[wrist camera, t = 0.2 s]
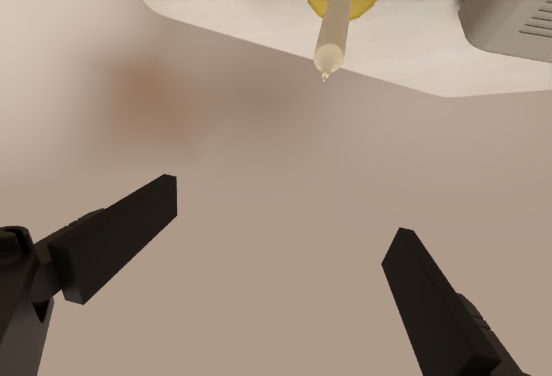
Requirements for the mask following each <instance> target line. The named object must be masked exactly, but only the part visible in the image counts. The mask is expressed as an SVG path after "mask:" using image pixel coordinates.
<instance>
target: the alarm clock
mask: <svg viewBox="0 0 552 376" xmlns="http://www.w3.org/2000/svg"><path fill="white" fill-rule="evenodd" d="M458 15H459V19H460V22H461V25H462V28H463V31H464V34H465V37H466V39H467V40H468V42H469V43H470V44H472V45H473V46H474V47H476V48H478V49H481V50H483V51H487V52H491V53H497V54H503V55H508V56H514V57H520V58H525V59H531V60H537V61H543V62H548V63H552V0H465V1H464V3H463V4H462V6H461V7H460V9H459V10H458Z"/></svg>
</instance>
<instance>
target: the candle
mask: <svg viewBox="0 0 552 376" xmlns="http://www.w3.org/2000/svg"><path fill="white" fill-rule="evenodd" d="M375 2H376V0H308V3H309V4H310V6H311V7H312V9H313V10H314V11H315V13H316V14H317V15H318V16H320V17H322V18H323V21H322V25H321V29H320V33H319V37H318V41H317V45H316V49H315V53H314V63H315V66H316V67H317V68H318V70H320V71H321V72H322V77H323V78H324V79H323V82H324V81H325V79H326V78H328V76H329V74H330V73H331V72H334V71H336V70H337V69H339V68H340V66H341V65H342V63H343V60H344V54H345V46H346V39H347V32H348V25H349V21H351V20H353V19H356V18H359V17H360V16H361V15H363V14H364V13H365V12H366V11H367V10H368V9H370V8H371V7H372V6H373V5H374V3H375Z"/></svg>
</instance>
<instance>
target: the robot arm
mask: <svg viewBox="0 0 552 376" xmlns="http://www.w3.org/2000/svg"><path fill="white" fill-rule="evenodd" d="M176 216H177V183H176V177H175V176H171V175H166V174H163V175H162V176H160V177H158V178H157V179H155V180H153V181H152V182H150V183H148V184H147V185H145V186H143V187H142V188H140V189H138V190H136V191H135V192H133V193H132V194H130V195H128V196H127V197H125V198H123V199H121V200H120V201H118V202H116V203H115V204H113V205H111V206H110V207H108V208H106V209H103V208H102V209H99V210H96V211H93V212H90V213H88V214H86V215H84V216H82V217H81V218H79V219H78V220H77V221H74V222H72V223H70V224H69V225H68V226H65V227H63V228H61V229H59V230H58V231H56V232H55V233H52V234H51V235H49V236H47V237H46V238H44V239H42V240H40V241H39V242H37V243H35V244H33V241H32V238H31V236H30V233H29V231H28V229H26V228H24V227H21V226H6V227H1V228H0V376H37V372H38V369H39V365H40V360H41V356H42V352H43V348H44V343H45V339H46V335H47V331H48V327H49V322H50V318H51V314H52V310H53V306H54V298H53V296H54V295H55V294H56V293H58V292H59V291H60V290H61V289H62V292H63V295H64V298H65V300H67V301H71V302H75V303H78V304H82V305H84V304H85V303H86V302H87V301H88V300H89V299H90V298H91V297H92V296H93V295H94V294H95V293H97V291H98V290H100V289H101V288H102V287H103V286H104V285H105V284H106V283H107V282H108V281H109V280H110V279H111V278H112V277H113V276H114V275H115V274H116V273H118V272H119V270H121V269H122V268H123V267H124V266H125V265H126V264H127V263H128V262H129V261H130V260H131V259H132V258H133V257H134V256H135V255H136V254H137V253H138V252H139V251H141V250H142V249H143V248H144V247H145V246H146V245H147V244H148V243H149V242H150V241H151V240H152V239H153V238H154V237H155V236H156V235H157V234H158V233H159V232H160V231H162V230H163V229H164V228H165V227H166V226H167V225H168V224H169V223H170V222H171V221H172V220H173V219H174V218H175V217H176ZM381 265H382V267H383V270H384V273H385V275H386V278H387V281H388V283H389V286H390V289H391V291H392V294H393V297H394V299H395V302H396V305H397V307H398V310H399V313H400V315H401V318H402V321H403V323H404V326H405V329H406V331H407V334H408V337H409V339H410V342H411V344H412V347H413V350H414V353H415V355H416V358H417V361H418V363H419V366H420V369H421V371H422V374H423V376H530V375H529V374H525V373H523V372H522V371H521V369H520V368H519V367H518V365H517V364H516V363H515V361H514V360H513V359H512V357H511V356H510V354H509V353H508V352H507V350H506V349H505V347H504V346H503V345H502V343H501V342H500V341H499V339H498V338H497V336H496V335H495V334H494V332H493V331H491V328H490V327H489V325H488V324H487V323H486V321H485V320H483V317H482V316H481V314H480V313H479V312H478V311H477V309H476V307H475V306H474V305H473V304H472V303H471V302H469V300H468V299H466V298H465V297H464V296H463V295H462V294H459V293H456V292H455V291H454V289H453V288H452V286H451V285H450V283H449V282H448V280H447V279H446V277H445V276H444V275H443V273H442V271H441V270H440V269H439V267H438V266H437V264H436V263H435V261H434V260H433V258H432V257H431V255H430V254H429V252H428V251H427V250H426V249H425V247H424V245H423V244H422V242H421V241H420V239H419V238H418V237H417V235H416V233H415V232H414V231H413V230H409V229H404V228H399V229H398V231H397V234H396V235H395V237H394V239H393V242H392V244H391V246H390V248H389V250H388V252H387V254H386V256H385V258H384V260H383V262H382V264H381Z"/></svg>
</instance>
